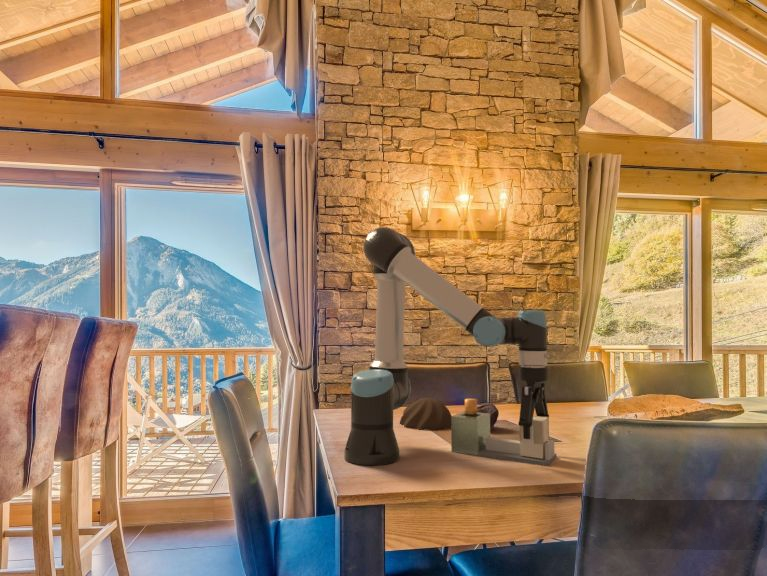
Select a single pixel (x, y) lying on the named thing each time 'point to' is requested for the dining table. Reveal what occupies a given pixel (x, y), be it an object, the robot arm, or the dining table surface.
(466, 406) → the orange rounded piece
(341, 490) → the dining table surface
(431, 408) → the decorative dome
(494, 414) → the rock
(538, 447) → the block
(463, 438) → the green square holder
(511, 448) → the grey slide base
